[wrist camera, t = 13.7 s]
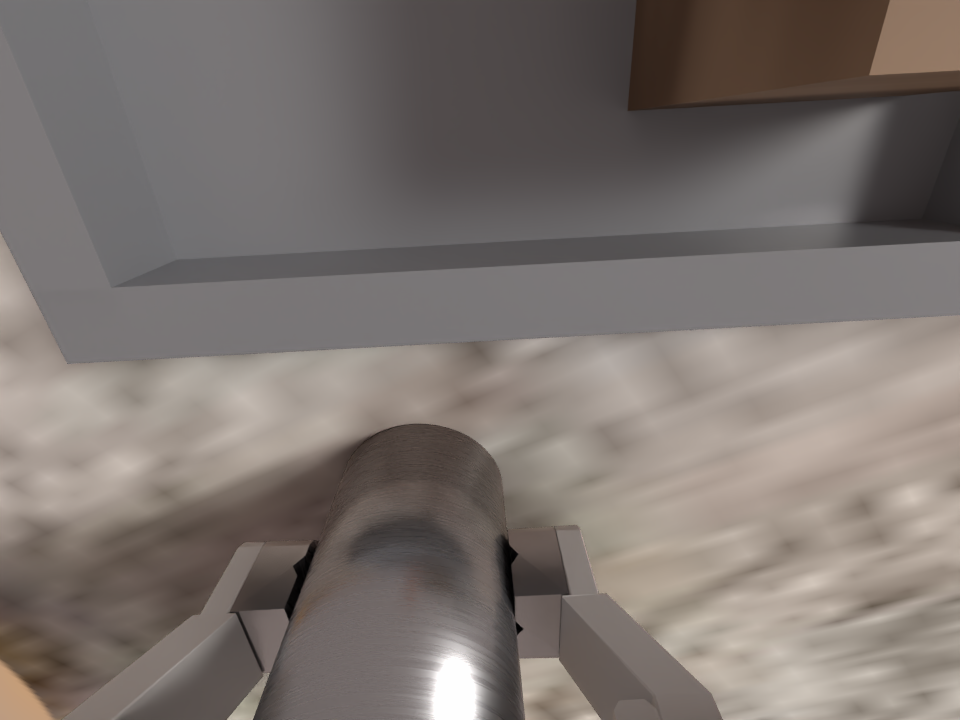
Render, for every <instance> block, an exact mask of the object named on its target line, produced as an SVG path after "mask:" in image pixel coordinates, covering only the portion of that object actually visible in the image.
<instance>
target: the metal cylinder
mask: <svg viewBox="0 0 960 720" xmlns="http://www.w3.org/2000/svg"><path fill="white" fill-rule="evenodd" d="M253 720H525V714H524V703H523V693H522V683H521V672H520V662H519V652H518V641H517V631H516V621H515V614H514V604H513V594H512V579H511V570H510V563H509V552H508V541H507V527H506V517H505V506H504V496H503V486H502V478H501V474H500V471H499V469H498V466H497V464H496V462H495V461H494V459H493V458H492V456H491V455H490V454H489V453H488V452H487V451H486V449H485V448H484V447H482V446H481V445H480V444H479V443H478V442H476V441H475V440H473V439H472V438H470V437H468V436H466V435H464V434H462V433H460V432H458V431H455V430H452V429H449V428H446V427H441V426H436V425H427V424H413V425H404V426H399V427H395V428H391V429H388V430H385V431H383V432H381V433H379V434H377V435H375V436H373V437H371V438H370V439H368V440H367V441H365V442H364V443H363V444H362V445H361V446H360V447H359V448H358V449H357V450H356V451H355V452H354V454H353V455H352V456H351V458H350V460H349V462H348V464H347V466H346V469H345V471H344V474H343V477H342V480H341V482H340V485H339V488H338V490H337V493H336V496H335V499H334V501H333V504H332V507H331V509H330V512H329V515H328V518H327V520H326V523H325V526H324V528H323V531H322V534H321V537H320V539H319V542H318V545H317V547H316V550H315V553H314V556H313V558H312V561H311V564H310V566H309V569H308V572H307V575H306V577H305V580H304V583H303V585H302V588H301V591H300V594H299V596H298V599H297V602H296V604H295V607H294V610H293V613H292V615H291V618H290V621H289V623H288V626H287V629H286V632H285V634H284V637H283V640H282V642H281V645H280V648H279V651H278V653H277V656H276V659H275V661H274V664H273V667H272V670H271V672H270V675H269V678H268V680H267V683H266V686H265V689H264V691H263V694H262V697H261V699H260V702H259V705H258V708H257V710H256V713H255V716H254V718H253Z"/></svg>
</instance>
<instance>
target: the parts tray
mask: <svg viewBox="0 0 960 720" xmlns="http://www.w3.org/2000/svg"><path fill="white" fill-rule="evenodd" d="M636 1H637V0H0V231H1V233H2V235H3V237H4V239H5V241H6V243H7V245H8V247H9V249H10V251H11V253H12V255H13V257H14V259H15V261H16V263H17V265H18V267H19V269H20V271H21V273H22V275H23V277H24V279H25V281H26V283H27V285H28V287H29V289H30V291H31V293H32V295H33V297H34V299H35V300H36V302H37V304H38V306H39V308H40V310H41V312H42V314H43V316H44V318H45V320H46V322H47V324H48V326H49V328H50V330H51V332H52V334H53V336H54V338H55V340H56V342H57V344H58V346H59V348H60V350H61V352H62V354H63V356H64V358H65V360H66V362H67V364H73V363H91V362H109V361H128V360H146V359H164V358H183V357H201V356H219V355H238V354H256V353H274V352H293V351H311V350H329V349H348V348H366V347H384V346H403V345H421V344H439V343H458V342H476V341H494V340H513V339H531V338H549V337H568V336H586V335H604V334H623V333H641V332H659V331H677V330H696V329H714V328H732V327H751V326H769V325H787V324H806V323H824V322H842V321H861V320H879V319H897V318H916V317H934V316H952V315H960V91H951V92H940V93H928V94H917V95H906V96H889V97H871V98H853V99H835V100H817V101H799V102H781V103H763V104H745V105H727V106H709V107H691V108H673V109H655V110H637V111H627V110H628V98H629V86H630V74H631V62H632V50H633V38H634V25H635V13H636Z"/></svg>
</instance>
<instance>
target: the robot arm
mask: <svg viewBox="0 0 960 720" xmlns="http://www.w3.org/2000/svg"><path fill="white" fill-rule="evenodd" d="M507 541H508V552H509V563H510V570H511V579H512V594H513V604H514V614H515V621H516V631H517V641H518V652H519V658H559V660H560V662H561V663H562V665H563V666H564V667H565V669H566V670H567V672H568V673H569V674H570V676H571V677H572V679H573V680H574V682H575V683H576V684H577V686H578V687H579V689H580V690H581V691H582V693H583V694H584V696H585V697H586V698H587V700H588V701H589V703H590V704H591V705H592V707H593V708H594V710H595V711H596V712H597V714H598V715H599V717H600V718H601V720H723V719H722V717H721V715H720V712H719V710H718V708H717V705H716V703H715V701H714V699H713V696H712V694H711V693H710V692H709V691H708V690H707V689H706V688H705V687H704V686H703V685H702V684H701V683H700V682H699V681H698V680H697V679H695V678H694V677H693V676H692V675H691V674H690V673H689V672H688V671H687V670H686V669H685V668H684V667H683V666H682V665H681V664H680V663H679V662H678V661H677V660H676V659H675V658H673V657H672V656H671V655H670V654H669V653H668V652H667V651H666V650H665V649H664V648H663V647H662V646H661V645H660V644H659V643H658V642H657V641H656V640H655V639H654V638H653V637H652V636H650V635H649V634H648V633H647V632H646V631H645V630H644V629H643V628H642V627H641V626H640V625H639V624H638V623H637V622H636V621H635V620H634V619H633V618H632V617H631V616H630V615H629V614H627V613H626V612H625V611H624V610H623V609H622V608H621V607H620V606H619V605H618V604H617V603H616V602H615V601H614V600H613V599H612V598H611V597H610V596H609V595H608V594H607V593H603V594H599V592H598V588H597V585H596V582H595V578H594V575H593V571H592V568H591V564H590V561H589V557H588V554H587V550H586V547H585V543H584V540H583V536H582V533H581V529H580V528H579V526H578V525H568V526H554V527H553V526H549V527H533V528H518V529H507ZM317 545H318V541H315V540H299V541H268V542H244V543H243V544H242V545H241V546H240V547H238V548H237V550H236V552H235V553H234V555H233V557H232V559H231V560H230V562H229V564H228V566H227V568H226V569H225V571H224V573H223V575H222V576H221V578H220V580H219V582H218V583H217V585H216V587H215V589H214V591H213V592H212V594H211V596H210V598H209V599H208V601H207V603H206V605H205V606H204V608H203V610H202V612H201V613H200V615H192V616H191V617H189V618H188V619H187V620H186V621H184V622H183V623H182V624H181V625H179V626H178V627H177V628H176V629H174V630H173V631H172V632H171V633H169V634H168V635H167V636H166V637H164V638H163V639H162V640H161V641H159V642H158V643H157V644H156V645H154V646H153V647H152V648H151V649H149V650H148V651H147V652H146V653H144V654H143V655H142V656H141V657H139V658H138V659H137V660H136V661H134V662H133V663H132V664H131V665H129V666H128V667H127V668H126V669H124V670H123V671H122V672H121V673H119V674H118V675H117V676H115V677H114V678H113V679H112V680H110V681H109V682H108V683H107V684H105V685H104V686H103V687H102V688H100V689H99V690H98V691H97V692H95V693H94V694H93V695H92V696H90V697H89V698H88V699H87V700H85V701H84V702H83V703H82V704H80V705H79V706H78V707H77V708H75V709H74V710H73V711H72V712H70V713H69V714H68V715H67V716H65V717H64V718H63V719H62V720H227V718H228V717H229V716H230V715H231V714H232V712H233V711H234V710H235V709H236V708H237V706H238V705H239V704H240V703H241V702H242V701H243V699H244V698H245V697H246V696H247V695H248V693H249V692H250V691H251V690H252V689H253V687H254V686H255V685H256V684H257V683H258V682H259V680H260V679H261V678H262V677H263V674H262V673H270V672H271V670H272V667H273V664H274V661H275V659H276V656H277V653H278V651H279V648H280V645H281V642H282V640H283V637H284V634H285V632H286V629H287V626H288V623H289V621H290V618H291V615H292V613H293V610H294V607H295V604H296V602H297V599H298V596H299V594H300V591H301V588H302V585H303V583H304V580H305V577H306V575H307V572H308V569H309V566H310V564H311V561H312V558H313V556H314V553H315V550H316V547H317Z"/></svg>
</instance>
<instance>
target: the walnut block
mask: <svg viewBox="0 0 960 720" xmlns="http://www.w3.org/2000/svg"><path fill="white" fill-rule="evenodd" d="M951 91H960V0H637V1H636V13H635V25H634V38H633V50H632V62H631V74H630V86H629V98H628V110H627V111H637V110H655V109H673V108H691V107H709V106H727V105H745V104H763V103H781V102H799V101H817V100H835V99H853V98H871V97H889V96H906V95H917V94H928V93H940V92H951Z"/></svg>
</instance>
